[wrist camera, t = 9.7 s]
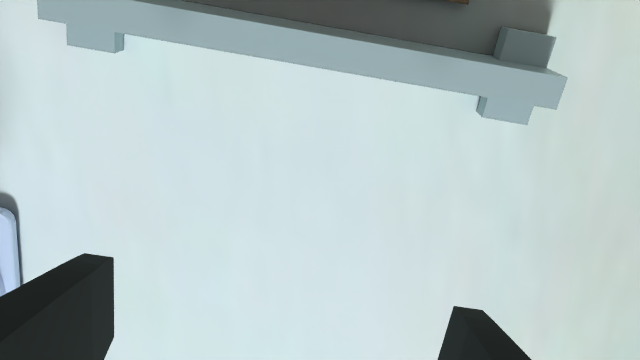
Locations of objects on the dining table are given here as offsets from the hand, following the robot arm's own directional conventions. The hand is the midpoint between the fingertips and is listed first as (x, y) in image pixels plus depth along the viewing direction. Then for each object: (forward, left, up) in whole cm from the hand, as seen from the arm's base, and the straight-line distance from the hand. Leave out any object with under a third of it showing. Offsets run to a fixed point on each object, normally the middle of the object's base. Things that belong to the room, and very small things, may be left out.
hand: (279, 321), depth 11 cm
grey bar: (-1, +5, -9) cm, 10 cm away
